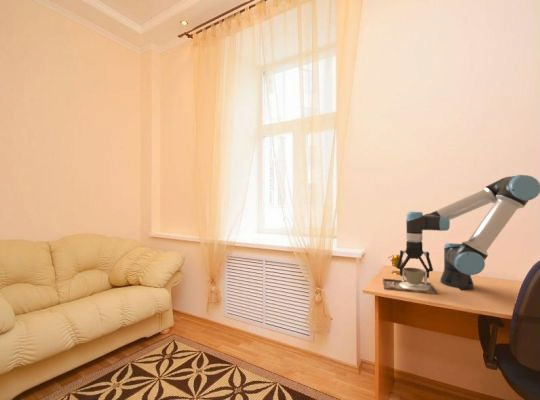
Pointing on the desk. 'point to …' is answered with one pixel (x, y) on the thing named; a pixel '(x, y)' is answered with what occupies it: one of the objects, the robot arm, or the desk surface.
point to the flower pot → (414, 275)
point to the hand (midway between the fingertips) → (414, 282)
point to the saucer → (414, 286)
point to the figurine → (395, 263)
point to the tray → (396, 287)
